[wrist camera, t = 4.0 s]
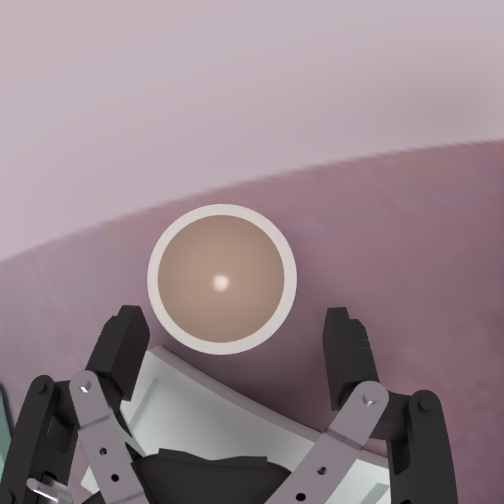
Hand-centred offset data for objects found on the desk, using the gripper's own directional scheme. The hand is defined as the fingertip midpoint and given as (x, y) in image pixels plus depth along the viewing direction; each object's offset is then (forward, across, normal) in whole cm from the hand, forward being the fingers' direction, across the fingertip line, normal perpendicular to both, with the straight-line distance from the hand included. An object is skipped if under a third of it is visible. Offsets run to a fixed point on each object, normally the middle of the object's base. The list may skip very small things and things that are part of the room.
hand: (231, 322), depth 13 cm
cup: (+6, 0, +4) cm, 7 cm away
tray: (-4, 0, +14) cm, 15 cm away
